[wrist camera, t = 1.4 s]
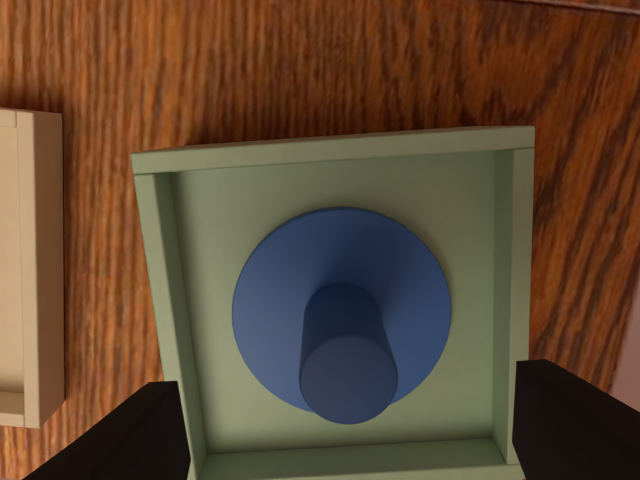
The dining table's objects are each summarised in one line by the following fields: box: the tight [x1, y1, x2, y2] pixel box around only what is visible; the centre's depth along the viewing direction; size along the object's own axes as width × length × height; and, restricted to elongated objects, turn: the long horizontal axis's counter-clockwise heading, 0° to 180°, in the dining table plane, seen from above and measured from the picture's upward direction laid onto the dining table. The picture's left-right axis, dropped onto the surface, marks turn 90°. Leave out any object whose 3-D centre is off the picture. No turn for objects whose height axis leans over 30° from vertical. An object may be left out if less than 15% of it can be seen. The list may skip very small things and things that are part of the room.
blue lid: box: [232, 207, 452, 425], centre depth 14 cm, size 7×7×5 cm
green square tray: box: [131, 126, 535, 480], centre depth 17 cm, size 11×11×6 cm
